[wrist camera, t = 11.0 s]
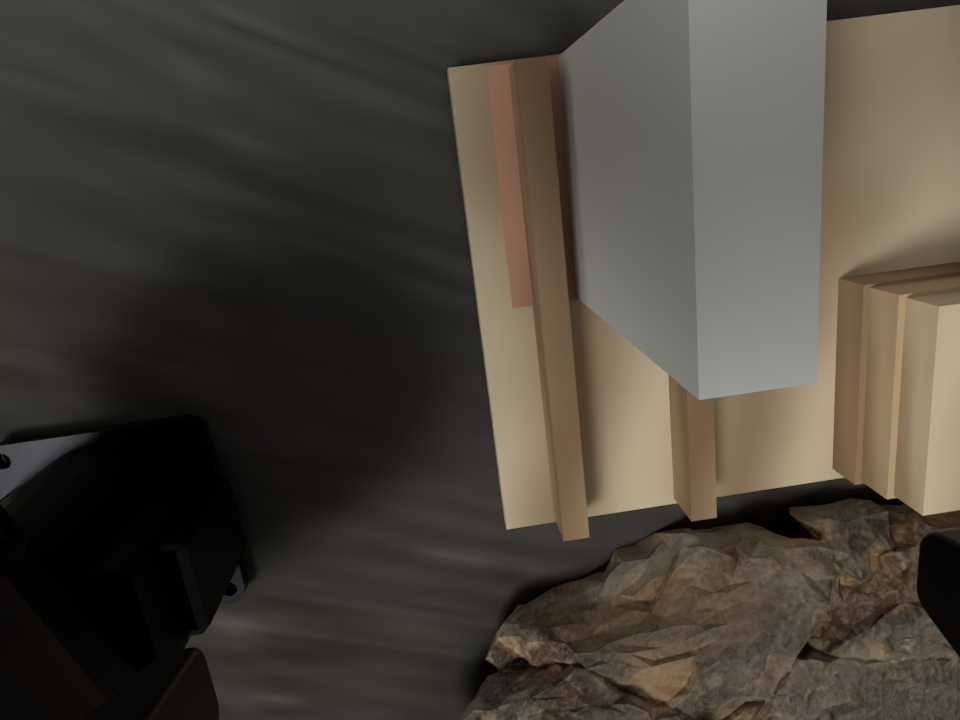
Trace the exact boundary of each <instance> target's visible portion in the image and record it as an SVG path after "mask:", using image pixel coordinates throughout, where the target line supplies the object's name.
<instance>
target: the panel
mask: <svg viewBox="0 0 960 720" xmlns="http://www.w3.org/2000/svg"><path fill="white" fill-rule="evenodd" d="M826 21H827V0H624V1H623V2H622V3H620V4H619V5H618V6H617V7H616V8H615V9H613V10H612V11H611V12H610V13H609V14H608V15H606V16H605V17H604V18H603V19H602V20H600V21H599V22H598V23H597V24H596V25H595V26H593V27H592V28H591V29H590V30H589V31H588V32H586V33H585V34H584V35H583V36H582V37H580V38H579V39H578V40H577V41H576V42H575V43H573V44H572V45H571V46H570V47H569V48H568V49H566V50H565V51H564V52H563V53H562V54H560V55H559V56H558V59H559V72H560V84H561V97H562V110H563V122H564V135H565V148H566V160H567V173H568V186H569V198H570V211H571V223H572V236H573V249H574V261H575V274H576V287H577V298H578V299H579V300H580V301H581V302H583V303H584V304H585V305H586V306H587V307H589V308H590V309H591V310H592V311H593V312H594V313H596V314H597V315H598V316H599V317H600V318H602V319H603V320H604V321H605V322H606V323H608V324H609V325H610V326H611V327H612V328H614V329H615V330H616V331H617V332H618V333H620V334H621V335H622V336H623V337H624V338H625V339H627V340H628V341H629V342H630V343H631V344H633V345H634V346H635V347H636V348H637V349H639V350H640V351H641V352H642V353H643V354H645V355H646V356H647V357H648V358H649V359H651V360H652V361H653V362H654V363H655V364H656V365H658V366H659V367H660V368H661V369H662V370H664V371H665V372H666V373H667V374H668V375H670V376H671V377H672V378H673V379H674V380H676V381H677V382H678V383H679V384H680V385H682V386H683V387H684V388H685V389H686V390H687V391H689V392H690V393H691V394H692V395H693V396H695V397H696V398H697V399H698V400H703V399H710V398H717V397H724V396H731V395H738V394H745V393H752V392H759V391H766V390H773V389H780V388H787V387H794V386H801V385H808V384H815V383H817V348H818V311H819V275H820V239H821V203H822V166H823V130H824V94H825V57H826Z"/></svg>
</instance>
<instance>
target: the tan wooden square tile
mask: <svg viewBox="0 0 960 720" xmlns="http://www.w3.org/2000/svg"><path fill="white" fill-rule="evenodd" d="M956 275H960V262H952V263H945V264H938V265H931V266H924V267H917V268H910V269H903V270H896V271H888V272H881V273H874V274H867V275H860V276H853V277H846V278H839V279H838V310H837V341H836V372H835V403H834V434H833V465H832V469H834V470H835V471H836V472H838V473H839V474H841V475H842V476H843V477H845V478H846V479H847V480H849V481H850V482H852V483H853V484H854V485H859V484H864V483H863V482H862V481H861V476H862V455H863V433H864V411H865V390H866V368H867V347H868V325H869V303H870V288H871V287H878V286H885V285H892V284H899V283H906V282H913V281H920V280H927V279H934V278H941V277H949V276H956Z"/></svg>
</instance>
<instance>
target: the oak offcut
mask: <svg viewBox="0 0 960 720" xmlns="http://www.w3.org/2000/svg"><path fill="white" fill-rule="evenodd" d="M957 290H960V275H956V276H949V277H941V278H934V279H927V280H920V281H913V282H906V283H899V284H892V285H885V286H878V287H871V288H870V303H869V325H868V347H867V368H866V390H865V411H864V433H863V455H862V476H861V481H862V482H863V483H864V484H866V485H867V486H869V487H870V488H871V489H873V490H874V491H876V492H877V493H878V494H880V495H881V496H883V497H884V498H885V499H894V498H896V497H895V496H894V481H895V465H896V449H897V433H898V417H899V401H900V385H901V368H902V352H903V336H904V320H905V304H906V298H908V297H915V296H922V295H929V294H936V293H943V292H950V291H957Z"/></svg>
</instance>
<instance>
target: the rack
mask: <svg viewBox="0 0 960 720" xmlns="http://www.w3.org/2000/svg"><path fill="white" fill-rule="evenodd" d="M559 55H560V54H557V55H549V56H541V57H532V58H524V59H516V60H508V61H500V62H492V63H484V64H476V65H467V66H459V67H451V68H448V70H447V76H448V84H449V92H450V100H451V108H452V116H453V123H454V131H455V139H456V147H457V155H458V162H459V170H460V178H461V186H462V194H463V202H464V209H465V217H466V225H467V233H468V241H469V248H470V256H471V264H472V272H473V280H474V288H475V295H476V303H477V311H478V319H479V327H480V334H481V342H482V350H483V358H484V366H485V374H486V381H487V389H488V397H489V405H490V413H491V420H492V428H493V436H494V444H495V452H496V460H497V467H498V475H499V483H500V491H501V499H502V506H503V514H504V520H505V524H506V529H513V528H519V527H526V526H532V525H539V524H545V523H552V522H557V525H558V528H559V530H560V533H561V536H562V538H563V541H569V540H576V539H582V538H589V528H588V517H591V516H597V515H604V514H610V513H617V512H623V511H630V510H636V509H643V508H649V507H656V506H662V505H669V504H675V503H678V504H679V506H680V507H681V508H682V510H683V511H684V512H685V514H686V515H687V516H688V518H689V519H690V520H691V522H692V521H698V520H705V519H711V518H717V504H716V497H721V496H727V495H734V494H740V493H747V492H753V491H760V490H766V489H773V488H779V487H786V486H792V485H799V484H805V483H812V482H818V481H825V480H831V479H838V478H844V477H843V476H842V475H841V474H839V473H838V472H836V471H835V470H834V469H832V465H833V434H834V403H835V372H836V341H837V310H838V279H839V278H846V277H853V276H860V275H867V274H874V273H881V272H888V271H896V270H903V269H910V268H917V267H924V266H931V265H938V264H945V263H952V262H960V5H955V6H946V7H938V8H930V9H922V10H914V11H906V12H898V13H890V14H882V15H873V16H865V17H857V18H849V19H841V20H833V21H826V57H825V94H824V130H823V166H822V203H821V239H820V275H819V311H818V348H817V383H815V384H808V385H801V386H794V387H787V388H780V389H773V390H766V391H759V392H752V393H745V394H738V395H731V396H724V397H717V398H710V399H703V400H698V399H697V398H696V397H695V396H693V395H692V394H691V393H690V392H689V391H687V390H686V389H685V388H684V387H683V386H682V385H680V384H679V383H678V382H677V381H676V380H674V379H673V378H672V377H671V376H670V375H668V374H667V373H666V372H665V371H664V370H662V369H661V368H660V367H659V366H658V365H656V364H655V363H654V362H653V361H652V360H651V359H649V358H648V357H647V356H646V355H645V354H643V353H642V352H641V351H640V350H639V349H637V348H636V347H635V346H634V345H633V344H631V343H630V342H629V341H628V340H627V339H625V338H624V337H623V336H622V335H621V334H620V333H618V332H617V331H616V330H615V329H614V328H612V327H611V326H610V325H609V324H608V323H606V322H605V321H604V320H603V319H602V318H600V317H599V316H598V315H597V314H596V313H594V312H593V311H592V310H591V309H590V308H589V307H587V306H586V305H585V304H584V303H583V302H581V301H580V300H579V299H578V298H577V287H576V274H575V261H574V249H573V236H572V223H571V211H570V198H569V186H568V173H567V160H566V148H565V135H564V122H563V110H562V97H561V84H560V72H559V59H558V56H559Z"/></svg>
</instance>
